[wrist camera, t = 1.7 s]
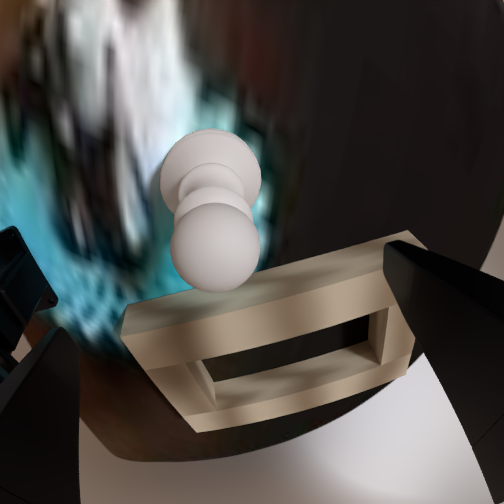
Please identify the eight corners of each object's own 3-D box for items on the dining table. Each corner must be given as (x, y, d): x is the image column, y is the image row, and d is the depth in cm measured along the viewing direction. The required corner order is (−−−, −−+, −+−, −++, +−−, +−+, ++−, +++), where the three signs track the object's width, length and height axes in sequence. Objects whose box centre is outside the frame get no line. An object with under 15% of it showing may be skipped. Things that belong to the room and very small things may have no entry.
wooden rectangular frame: (195, 406, 28) (196, 432, 25) (127, 305, 20) (119, 337, 18) (392, 352, 28) (405, 374, 25) (407, 230, 20) (431, 252, 18)
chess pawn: (269, 141, 16) (333, 213, 8) (241, 224, 18) (270, 342, 11) (175, 117, 14) (142, 166, 7) (154, 205, 17) (122, 321, 9)
